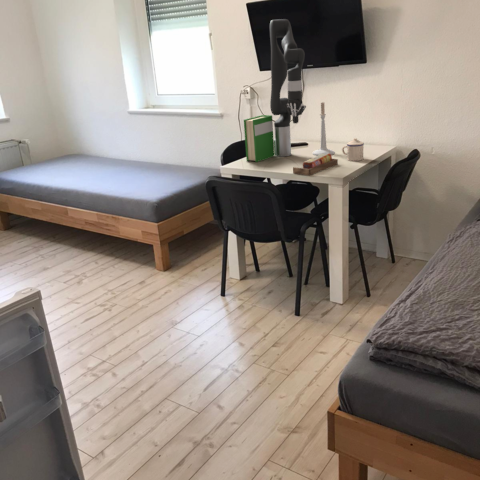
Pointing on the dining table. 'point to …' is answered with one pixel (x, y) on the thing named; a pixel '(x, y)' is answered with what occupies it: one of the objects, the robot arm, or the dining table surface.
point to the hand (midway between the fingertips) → (295, 123)
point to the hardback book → (259, 138)
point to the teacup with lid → (354, 150)
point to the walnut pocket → (315, 168)
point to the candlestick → (323, 135)
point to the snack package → (317, 160)
